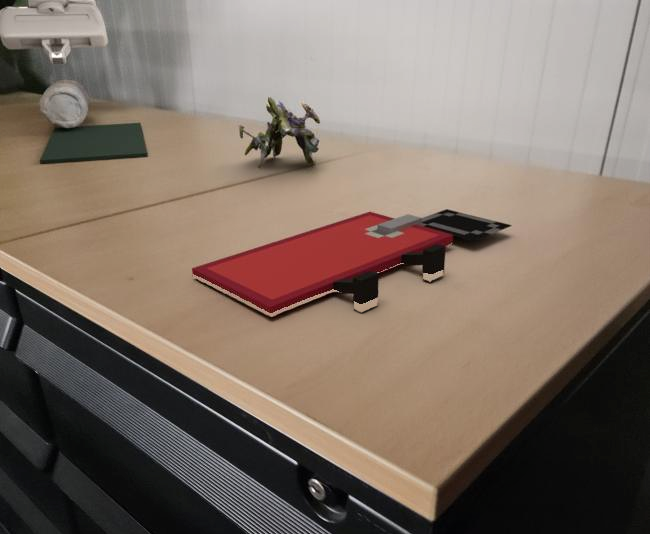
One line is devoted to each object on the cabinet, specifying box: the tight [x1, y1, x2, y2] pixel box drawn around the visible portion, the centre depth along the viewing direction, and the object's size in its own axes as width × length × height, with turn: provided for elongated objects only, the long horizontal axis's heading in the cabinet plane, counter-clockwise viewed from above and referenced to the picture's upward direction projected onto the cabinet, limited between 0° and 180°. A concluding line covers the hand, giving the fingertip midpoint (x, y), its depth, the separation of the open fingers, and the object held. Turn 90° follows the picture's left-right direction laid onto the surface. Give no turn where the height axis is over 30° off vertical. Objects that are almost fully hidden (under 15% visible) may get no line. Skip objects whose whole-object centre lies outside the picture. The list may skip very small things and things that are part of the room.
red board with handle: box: [191, 208, 513, 313], centre depth 58 cm, size 30×3×15 cm
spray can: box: [38, 78, 91, 128], centre depth 121 cm, size 8×8×20 cm
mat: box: [39, 122, 149, 165], centre depth 109 cm, size 16×29×1 cm, turn 17°
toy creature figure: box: [238, 96, 321, 169], centre depth 91 cm, size 11×11×12 cm
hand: (58, 61), depth 124 cm, fingers closed
